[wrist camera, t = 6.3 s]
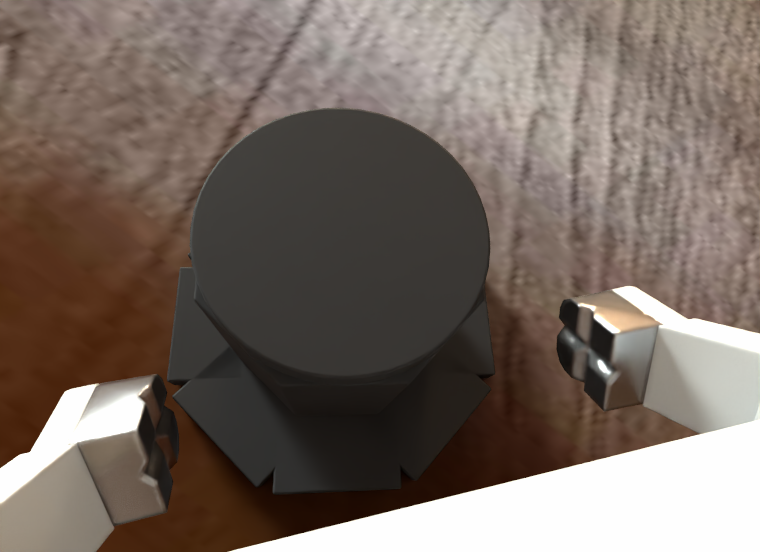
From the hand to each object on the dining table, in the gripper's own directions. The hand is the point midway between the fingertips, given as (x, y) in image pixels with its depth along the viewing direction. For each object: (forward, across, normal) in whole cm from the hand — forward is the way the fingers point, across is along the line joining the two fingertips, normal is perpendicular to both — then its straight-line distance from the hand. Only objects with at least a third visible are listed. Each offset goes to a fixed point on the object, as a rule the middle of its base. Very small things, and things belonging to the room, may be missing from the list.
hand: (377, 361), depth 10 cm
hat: (+7, 0, -3) cm, 8 cm away
